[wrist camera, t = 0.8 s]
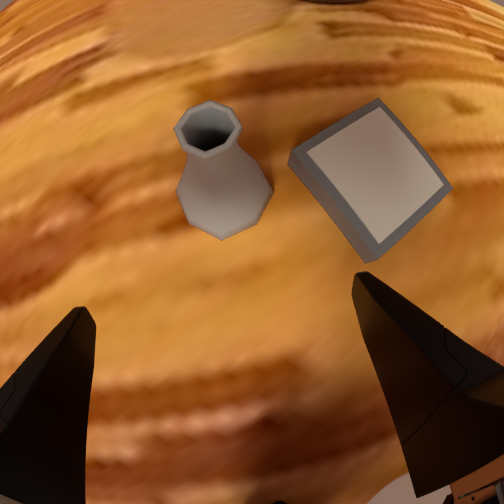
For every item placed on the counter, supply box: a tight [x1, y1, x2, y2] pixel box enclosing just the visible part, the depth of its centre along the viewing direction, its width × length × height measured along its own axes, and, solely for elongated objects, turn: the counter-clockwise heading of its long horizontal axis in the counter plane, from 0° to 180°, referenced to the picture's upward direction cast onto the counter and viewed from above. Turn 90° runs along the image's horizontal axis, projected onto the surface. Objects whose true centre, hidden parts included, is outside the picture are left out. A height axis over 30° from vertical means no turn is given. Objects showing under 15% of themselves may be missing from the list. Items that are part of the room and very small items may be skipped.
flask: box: [174, 100, 274, 241], centre depth 19 cm, size 7×7×10 cm
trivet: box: [288, 98, 453, 264], centre depth 23 cm, size 10×10×3 cm
